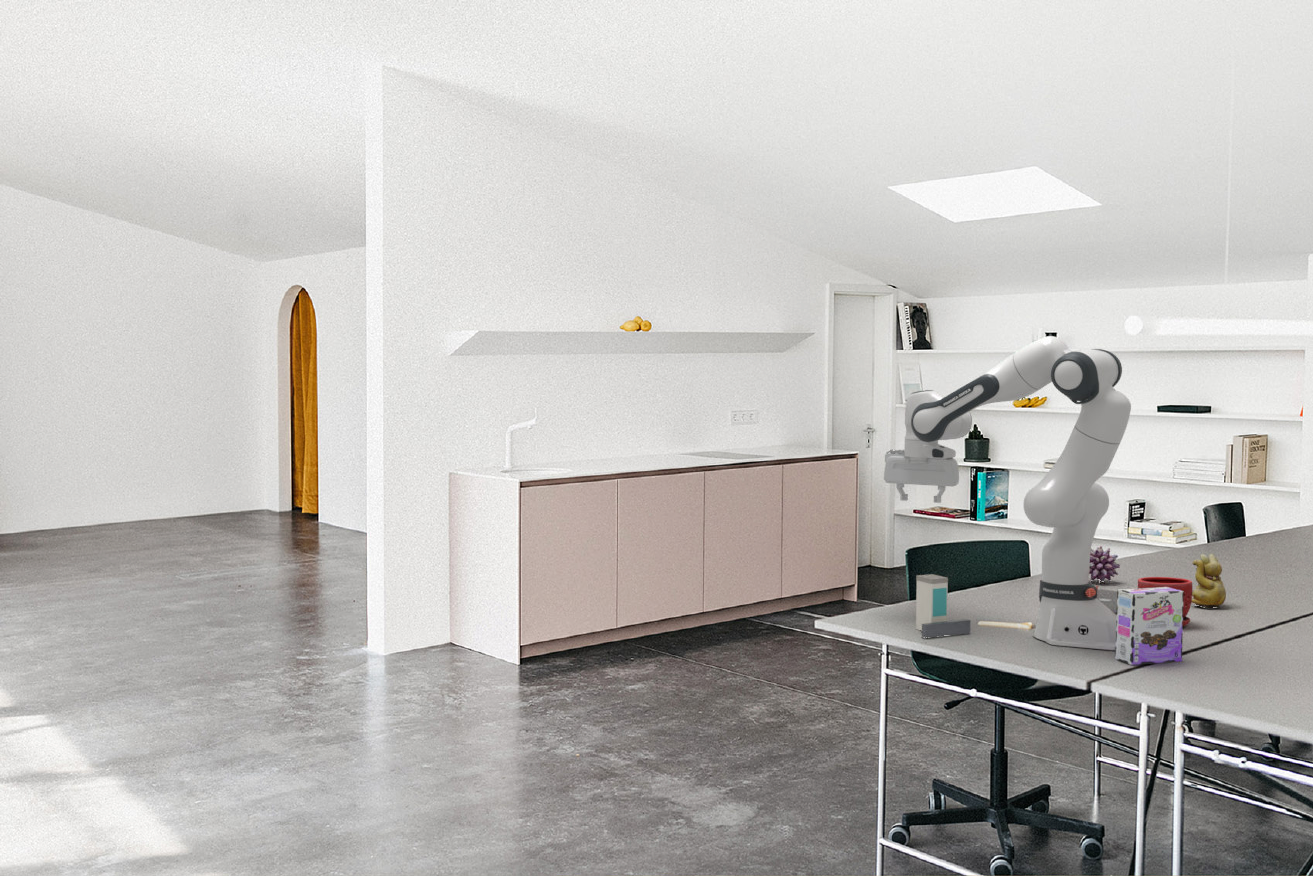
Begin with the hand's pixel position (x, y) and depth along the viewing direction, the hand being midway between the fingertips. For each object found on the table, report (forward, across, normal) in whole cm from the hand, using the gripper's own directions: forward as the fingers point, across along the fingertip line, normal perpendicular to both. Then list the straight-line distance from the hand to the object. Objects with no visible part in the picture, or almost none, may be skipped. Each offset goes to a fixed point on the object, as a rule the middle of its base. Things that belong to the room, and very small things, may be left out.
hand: (920, 501), depth 308 cm
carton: (+31, +10, -17) cm, 37 cm away
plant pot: (+31, +57, +26) cm, 70 cm away
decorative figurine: (+31, +63, +58) cm, 91 cm away
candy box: (+31, +62, -18) cm, 72 cm away
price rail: (+31, +15, -20) cm, 40 cm away
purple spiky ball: (+31, +28, +80) cm, 90 cm away
